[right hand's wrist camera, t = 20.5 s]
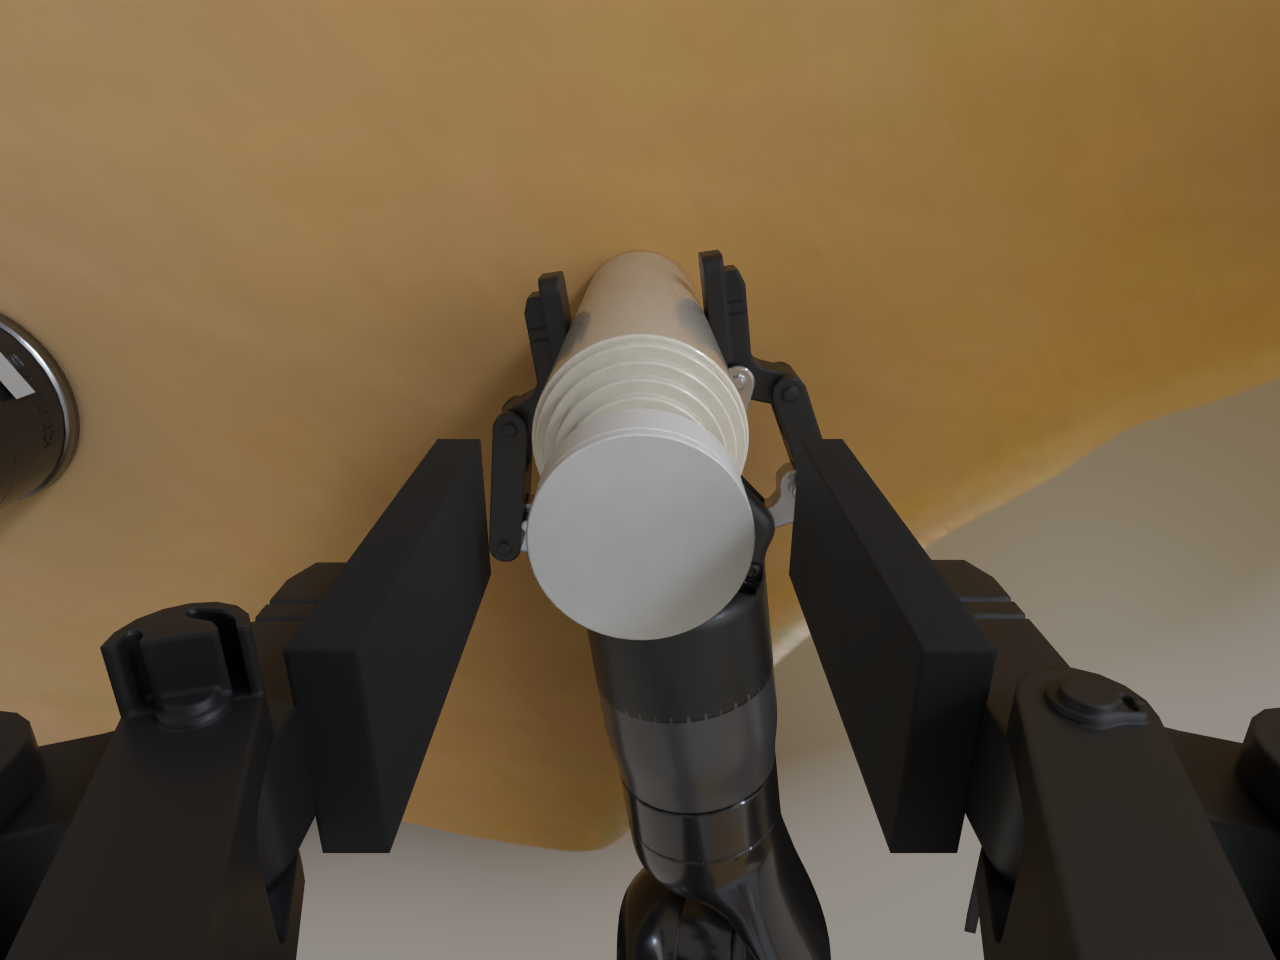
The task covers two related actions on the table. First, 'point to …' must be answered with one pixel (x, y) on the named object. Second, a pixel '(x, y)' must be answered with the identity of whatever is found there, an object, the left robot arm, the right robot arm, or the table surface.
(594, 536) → the cap
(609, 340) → the bottle
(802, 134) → the table surface
